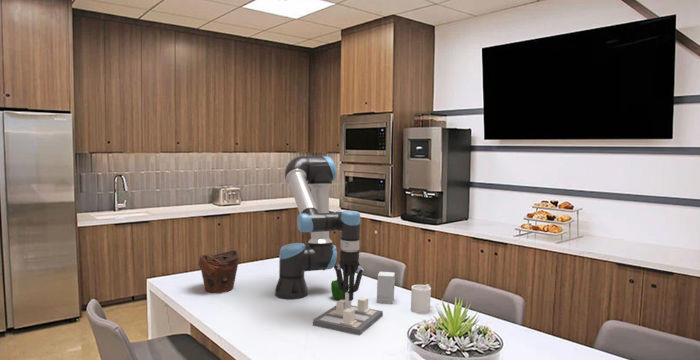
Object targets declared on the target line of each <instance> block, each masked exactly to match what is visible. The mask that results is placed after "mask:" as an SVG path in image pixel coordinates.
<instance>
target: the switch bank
mask: <svg viewBox="0 0 700 360" xmlns="http://www.w3.org/2000/svg"><path fill="white" fill-rule="evenodd" d="M357 308H358V305H357V306H356V305H352V304H351V309H355V310H356V309H357ZM334 312H336V305H335V306H333V307H332V308H330V309H328V310H326V311H324V312H323V313H322V314H320V315H319V316H317V317H315V318H314V319H312V326H315V327H320V328H325V329H329V330H334V331H339V332H343V333H348V334H353V335H357V336H361V334H363V333H364V332H365V331H366V330H368V329H369V328H370V327H371V326H372V325H374V324H375V323H376V322H377V321H378V320H380V319H381V318H382V317H383V316H384V313H383V310H378V309H373V308H371V310H370V311H369V312H367V313H366V314H365V313H360V312H355V319H354V320H357V323H355V324H354V325H353V326H349V325H344V324H340V322H341V321H342V320H343V316H338V315H333V313H334Z"/></svg>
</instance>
